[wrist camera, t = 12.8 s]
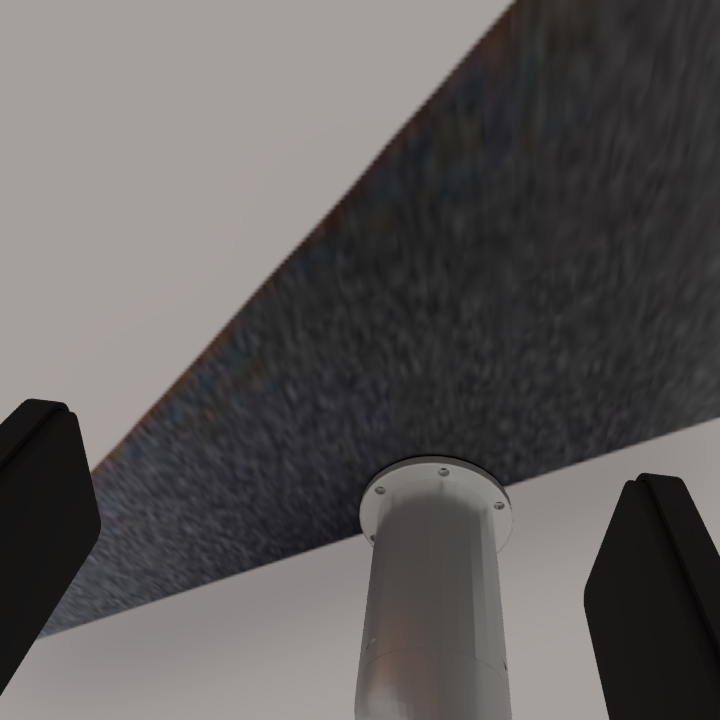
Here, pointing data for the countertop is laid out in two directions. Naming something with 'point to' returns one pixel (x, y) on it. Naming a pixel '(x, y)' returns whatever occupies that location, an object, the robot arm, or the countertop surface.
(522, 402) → the countertop surface
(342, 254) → the countertop surface
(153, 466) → the countertop surface
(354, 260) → the countertop surface
